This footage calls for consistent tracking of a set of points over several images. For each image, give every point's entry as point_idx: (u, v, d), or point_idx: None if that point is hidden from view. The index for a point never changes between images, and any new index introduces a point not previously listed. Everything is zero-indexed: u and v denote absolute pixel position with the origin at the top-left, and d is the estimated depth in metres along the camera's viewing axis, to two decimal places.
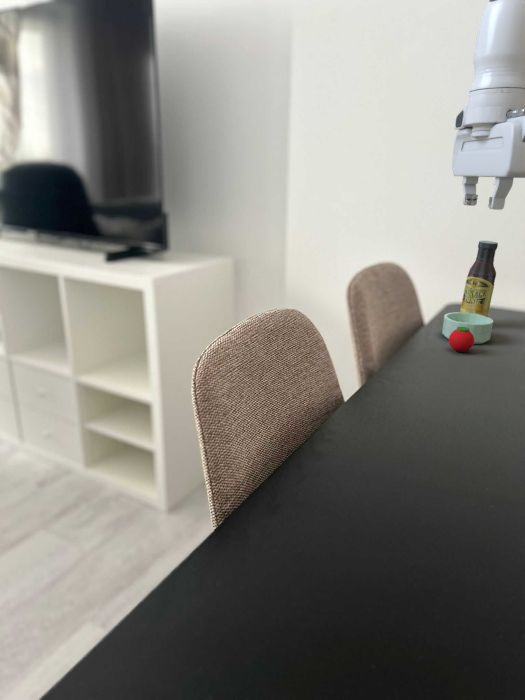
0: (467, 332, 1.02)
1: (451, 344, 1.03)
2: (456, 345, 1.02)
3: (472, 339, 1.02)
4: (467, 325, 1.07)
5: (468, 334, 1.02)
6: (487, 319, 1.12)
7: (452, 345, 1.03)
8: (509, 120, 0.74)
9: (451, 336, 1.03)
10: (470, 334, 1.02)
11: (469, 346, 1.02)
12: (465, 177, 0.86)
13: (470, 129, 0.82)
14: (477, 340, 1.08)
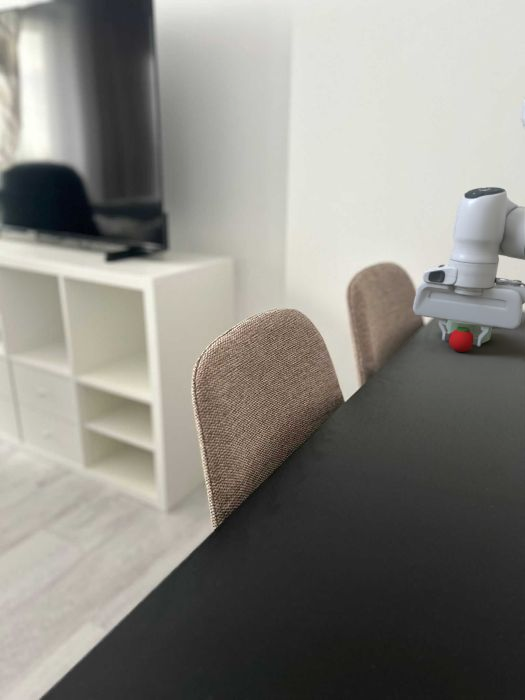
0: (467, 332, 1.02)
1: (451, 344, 1.03)
2: (456, 345, 1.02)
3: (472, 339, 1.02)
4: (467, 325, 1.07)
5: (468, 334, 1.02)
6: None
7: (452, 345, 1.03)
8: (499, 285, 0.97)
9: (451, 336, 1.03)
10: (470, 334, 1.02)
11: (470, 346, 1.02)
12: (444, 319, 1.03)
13: (450, 285, 1.00)
14: None
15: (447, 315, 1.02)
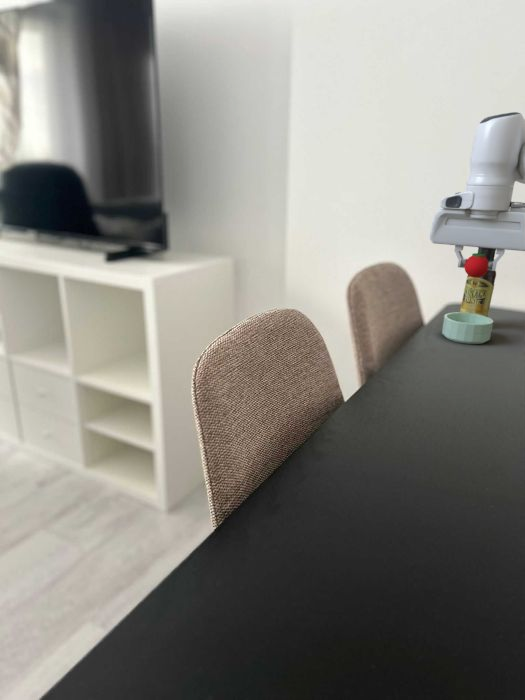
0: (482, 257, 1.06)
1: (467, 270, 1.07)
2: (472, 269, 1.06)
3: (487, 264, 1.06)
4: (467, 325, 1.07)
5: (483, 259, 1.06)
6: (487, 319, 1.12)
7: (468, 270, 1.07)
8: (514, 209, 1.01)
9: (467, 262, 1.07)
10: (485, 259, 1.06)
11: (485, 270, 1.06)
12: (460, 246, 1.07)
13: (466, 210, 1.04)
14: (477, 340, 1.08)
15: (463, 241, 1.06)
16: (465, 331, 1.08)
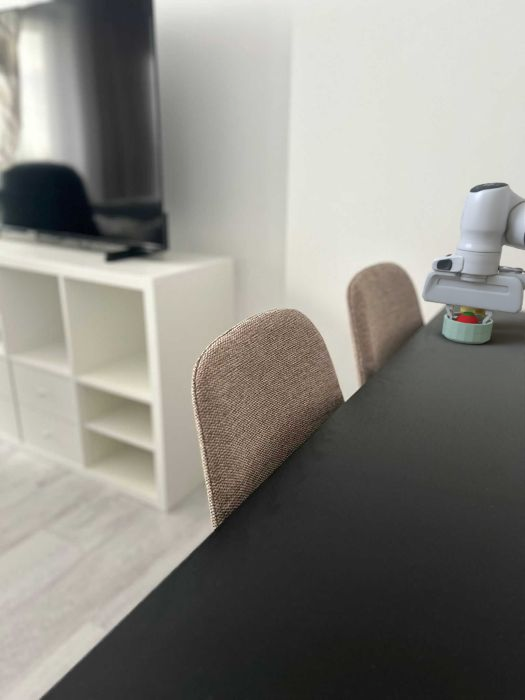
0: (472, 317, 1.10)
1: None
2: None
3: (477, 323, 1.10)
4: (467, 325, 1.07)
5: (473, 318, 1.10)
6: None
7: None
8: (502, 273, 1.06)
9: (457, 320, 1.12)
10: (475, 318, 1.10)
11: None
12: (451, 305, 1.12)
13: (457, 273, 1.08)
14: (477, 340, 1.08)
15: (454, 300, 1.10)
16: (465, 331, 1.08)
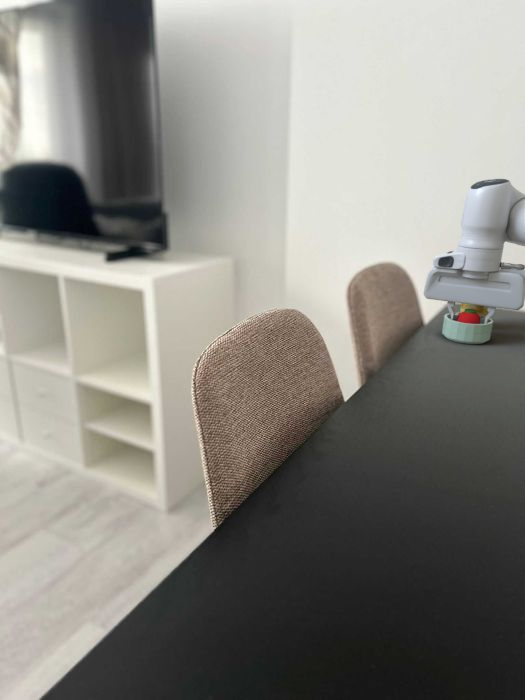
0: (474, 314, 1.10)
1: None
2: None
3: (479, 320, 1.10)
4: (467, 325, 1.07)
5: (475, 315, 1.10)
6: None
7: None
8: (503, 269, 1.05)
9: (459, 317, 1.11)
10: (477, 315, 1.10)
11: None
12: (452, 302, 1.12)
13: (458, 270, 1.08)
14: (477, 340, 1.08)
15: (455, 298, 1.10)
16: (465, 331, 1.08)
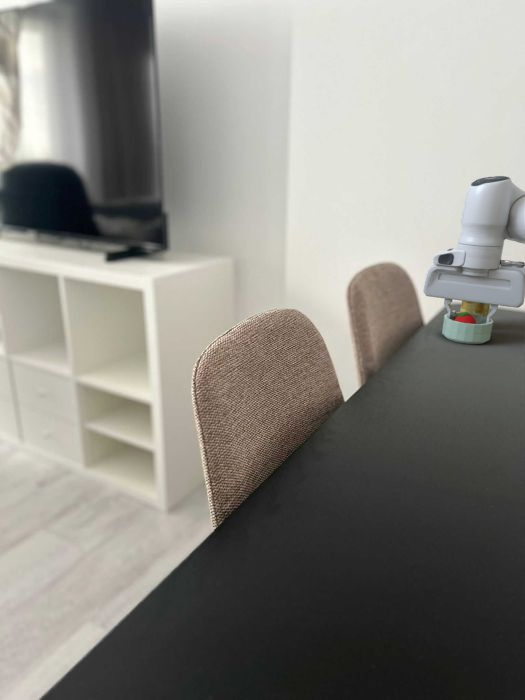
0: (467, 316, 1.11)
1: None
2: None
3: (473, 320, 1.11)
4: (467, 325, 1.07)
5: (468, 317, 1.11)
6: None
7: None
8: (503, 267, 1.05)
9: None
10: (470, 317, 1.11)
11: None
12: (449, 299, 1.12)
13: (458, 267, 1.08)
14: (477, 340, 1.08)
15: (455, 295, 1.10)
16: (465, 331, 1.08)
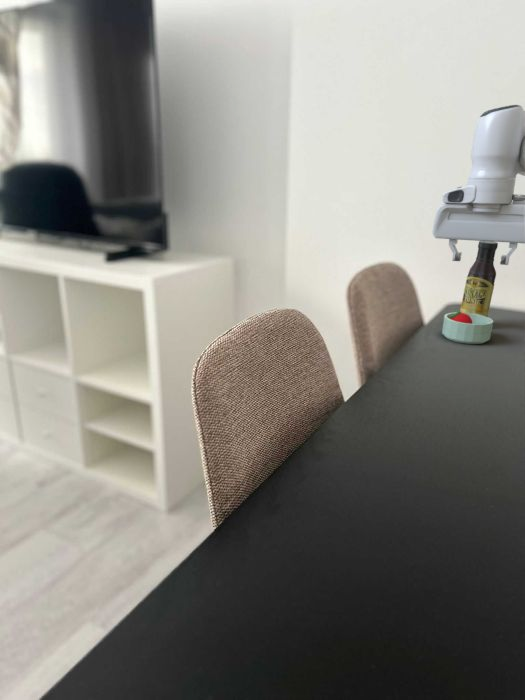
0: (459, 315, 1.12)
1: None
2: None
3: (467, 317, 1.11)
4: (467, 325, 1.07)
5: (461, 315, 1.11)
6: (487, 319, 1.12)
7: None
8: (516, 202, 1.01)
9: None
10: (463, 314, 1.11)
11: (469, 323, 1.11)
12: (454, 239, 1.08)
13: (469, 204, 1.04)
14: (477, 340, 1.08)
15: (466, 235, 1.06)
16: (465, 331, 1.08)
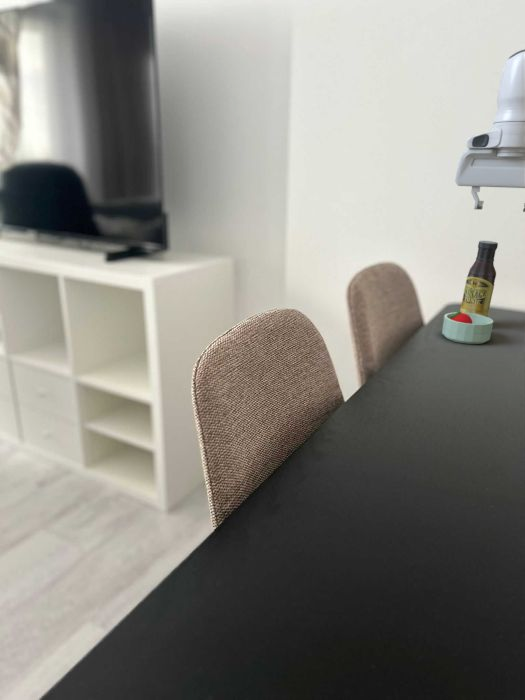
0: (459, 315, 1.12)
1: None
2: None
3: (467, 317, 1.11)
4: (467, 325, 1.07)
5: (461, 315, 1.11)
6: (487, 319, 1.12)
7: None
8: None
9: None
10: (463, 314, 1.11)
11: (469, 323, 1.11)
12: (476, 187, 1.08)
13: (493, 149, 1.03)
14: (477, 340, 1.08)
15: (489, 181, 1.05)
16: (465, 331, 1.08)
